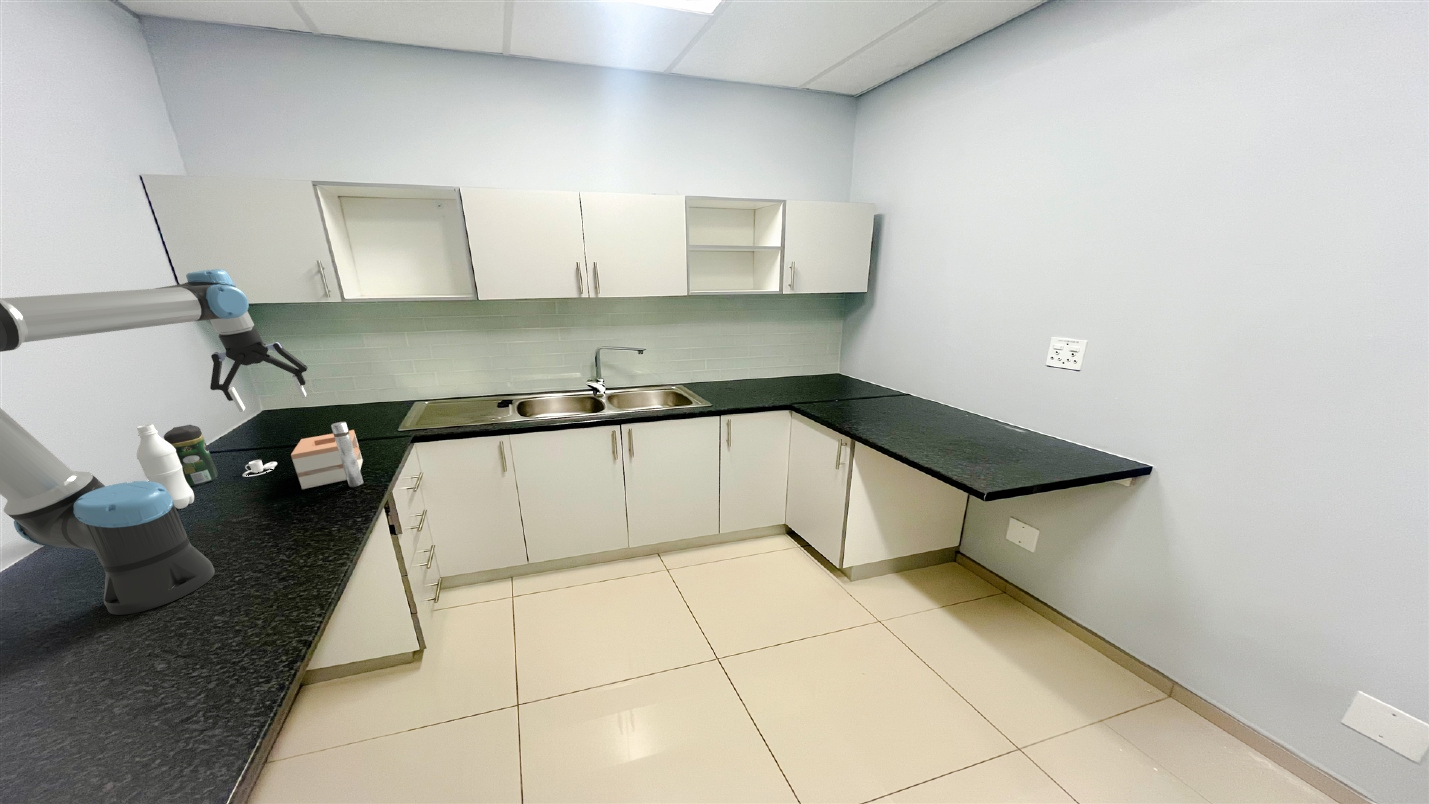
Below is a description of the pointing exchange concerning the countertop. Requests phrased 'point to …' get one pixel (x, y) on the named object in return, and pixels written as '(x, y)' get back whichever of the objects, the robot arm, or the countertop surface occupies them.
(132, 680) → the countertop surface
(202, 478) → the coffee jar
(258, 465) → the teacup and saucer
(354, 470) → the metal tube
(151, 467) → the water bottle
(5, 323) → the robot arm
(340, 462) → the tissue box
